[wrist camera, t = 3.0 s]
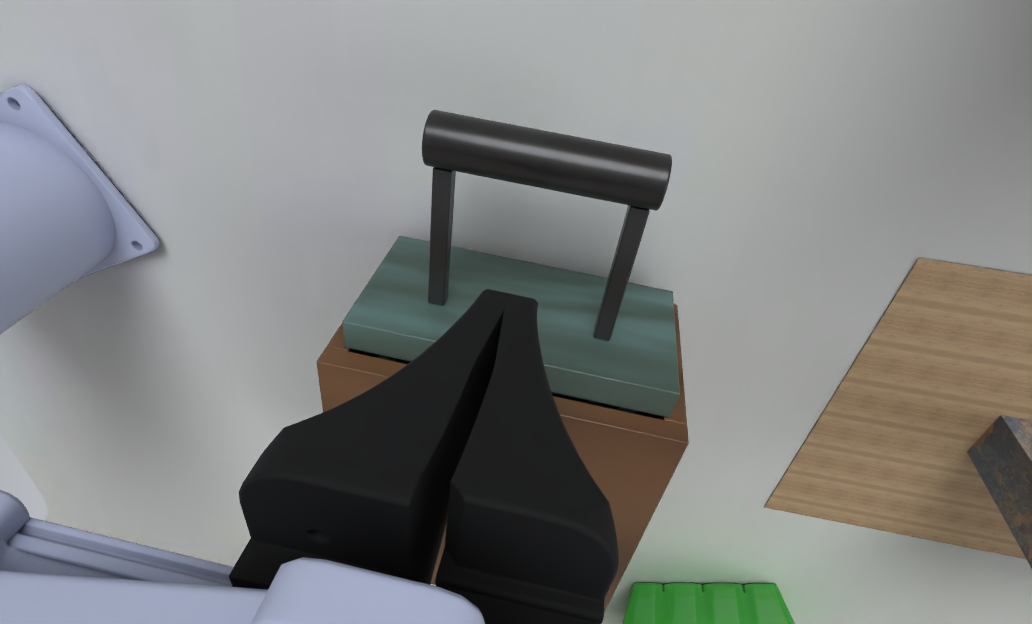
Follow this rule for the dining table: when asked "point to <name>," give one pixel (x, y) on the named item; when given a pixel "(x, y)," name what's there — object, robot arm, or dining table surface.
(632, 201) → the green drawer
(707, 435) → the dining table surface
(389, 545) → the robot arm
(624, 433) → the cabinet
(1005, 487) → the architectural model on board
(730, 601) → the fruit basket
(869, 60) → the dining table surface
